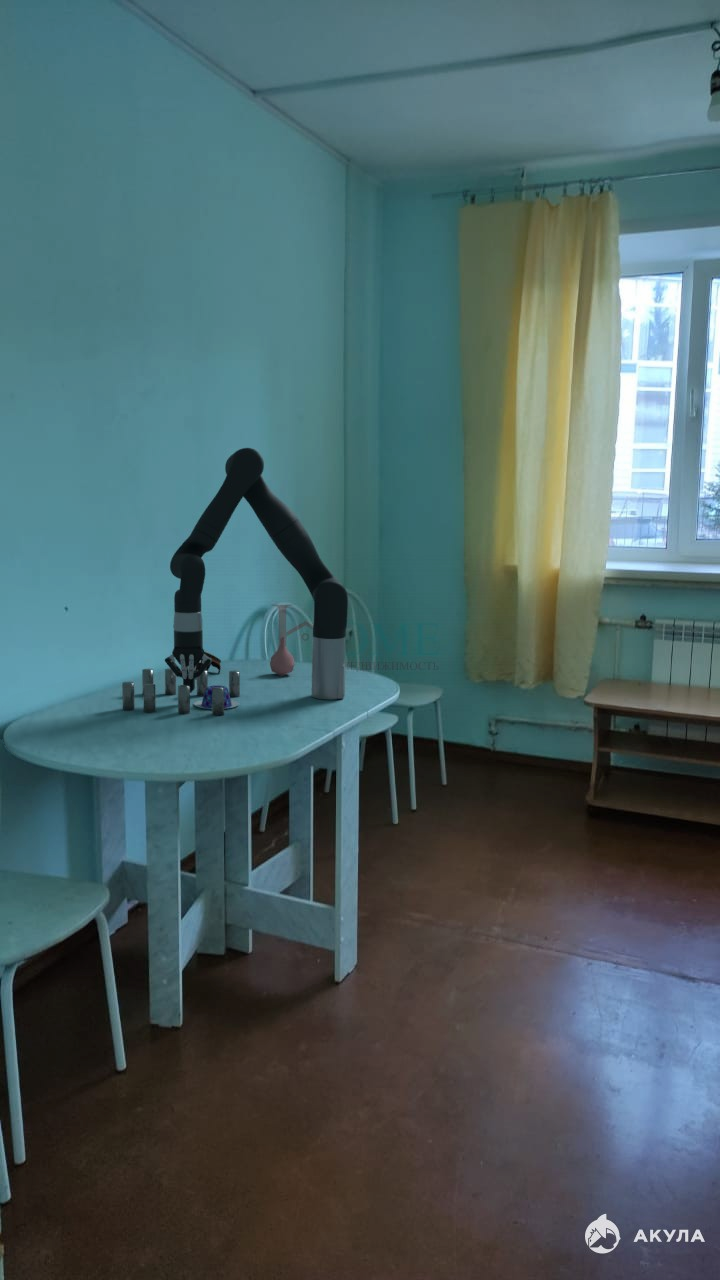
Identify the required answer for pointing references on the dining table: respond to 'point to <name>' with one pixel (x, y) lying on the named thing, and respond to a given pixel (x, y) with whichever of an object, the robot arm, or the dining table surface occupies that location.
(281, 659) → the perfume bottle
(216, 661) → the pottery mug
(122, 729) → the dining table surface
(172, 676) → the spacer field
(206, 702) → the pudding
